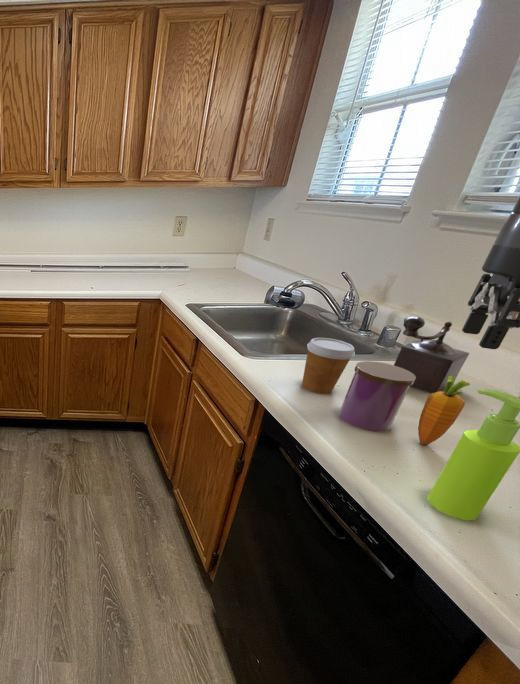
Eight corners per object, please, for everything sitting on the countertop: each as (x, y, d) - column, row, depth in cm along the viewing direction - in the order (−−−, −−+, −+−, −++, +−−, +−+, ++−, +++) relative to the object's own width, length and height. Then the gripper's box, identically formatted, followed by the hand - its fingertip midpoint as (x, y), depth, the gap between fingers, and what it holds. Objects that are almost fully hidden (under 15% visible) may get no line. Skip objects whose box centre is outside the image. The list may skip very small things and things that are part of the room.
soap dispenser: (439, 489, 71) (499, 385, 62) (486, 519, 65) (560, 408, 56) (410, 492, 70) (467, 387, 61) (456, 523, 64) (526, 411, 55)
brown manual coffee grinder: (401, 370, 115) (429, 306, 107) (453, 386, 106) (488, 318, 98) (373, 382, 108) (402, 315, 100) (427, 400, 99) (462, 329, 91)
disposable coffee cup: (298, 376, 110) (312, 334, 105) (341, 388, 105) (358, 343, 99) (290, 389, 104) (305, 344, 99) (336, 401, 98) (354, 355, 93)
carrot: (408, 435, 86) (441, 369, 79) (441, 445, 82) (478, 378, 76) (404, 444, 83) (438, 376, 76) (438, 455, 79) (476, 386, 73)
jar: (386, 417, 92) (409, 367, 87) (395, 438, 85) (421, 385, 79) (334, 406, 96) (353, 357, 91) (339, 425, 89) (359, 374, 84)
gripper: (589, 253, 59) (526, 358, 66) (540, 241, 70) (491, 332, 77) (515, 248, 62) (463, 349, 69) (479, 237, 73) (438, 325, 80)
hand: (478, 340), depth 73 cm, fingers open, 8 cm apart
